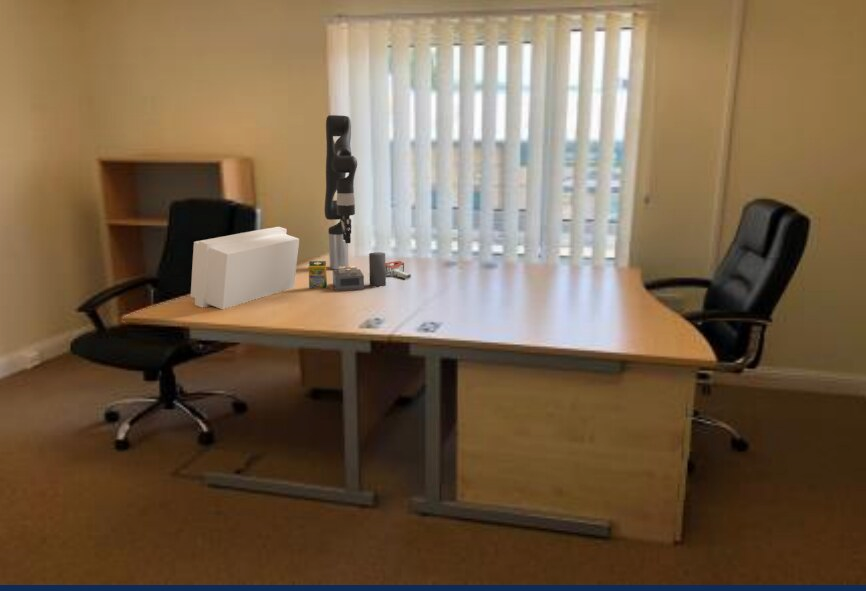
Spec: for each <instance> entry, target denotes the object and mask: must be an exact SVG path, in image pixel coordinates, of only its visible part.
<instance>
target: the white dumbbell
mask: <svg viewBox="0 0 866 591" xmlns="http://www.w3.org/2000/svg"><path fill="white" fill-rule="evenodd" d="M357 269H358V267H357V266H356V265H352V266H349V267H339V269H338V270H339V273H345V270H350V272H351V273H357Z"/></svg>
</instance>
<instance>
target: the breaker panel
mask: <svg viewBox="0 0 866 591" xmlns="http://www.w3.org/2000/svg"><path fill="white" fill-rule="evenodd" d="M364 279H365V277H364V273H363V272H362V271H361V269H359V268H357V273H351V272H350V269H345V273H339V269H332V285H333V284H334V285H333V287H334V286H335V287H334V289H336V290H342V291H352V290H351V289H361V290H365V280H364ZM336 290H335V291H336Z"/></svg>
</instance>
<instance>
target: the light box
mask: <svg viewBox="0 0 866 591" xmlns="http://www.w3.org/2000/svg"><path fill="white" fill-rule="evenodd" d="M299 245H300V238H298V237H296V236H293V235H289V234H287V228H285V227H281V226H274V227H268V228H263V229H257V230H251V231H245V232H240V233H235V234H229V235H225V236H217V237H214V238H208V239H202V240H196V241H193V248H192V250H193V253H192V267H191V268H192V269H191V286H190V297H191V298H194V305H195V306H197V307H200V308H201V307H202V309H204V308H207V306H208V307H210V306H211V307H216V308H217V309H220V310H222V309H224V310H226V309H225V308H227V309H229V308H228V307H230V308H233V307H235V305H237V306H239V305H238V304H240V305H242V304H241V303H243V304H246V303H245V302H247V303H249V302H248V301H250V302H252V301H251V300H253V301H255V300H254V299H256V300H259V299H258V298H260V299H262V298H261V297H263V298H265V297H264V296H266V297H268V296H267V295H269V296H271V295H270V294H273V293H276V292H279V293H281V292H280V291H283V290H286V289H289V290H291V289H290V288H292V289H294V288H295V281H296V273H297V265H298V264H297V263H298V254H299V248H300V246H299ZM293 287H294V288H293ZM286 291H287V290H286ZM283 292H284V291H283ZM276 294H277V293H276ZM273 295H274V294H273ZM232 306H233V307H232ZM203 307H204V308H203Z"/></svg>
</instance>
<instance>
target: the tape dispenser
mask: <svg viewBox="0 0 866 591" xmlns="http://www.w3.org/2000/svg"><path fill="white" fill-rule="evenodd" d="M391 264H393V265H391ZM385 268H386V276H387V275H388V273H390V277H391V276H393V277H397V276H398V277H400V278H402V279H404V280H405V279H407V280H410V279H411V277H412V273H407V272H405V263H404V262H402V261H401V260H396V261H389V262H385ZM396 275H397V276H396ZM409 278H410V279H409Z"/></svg>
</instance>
